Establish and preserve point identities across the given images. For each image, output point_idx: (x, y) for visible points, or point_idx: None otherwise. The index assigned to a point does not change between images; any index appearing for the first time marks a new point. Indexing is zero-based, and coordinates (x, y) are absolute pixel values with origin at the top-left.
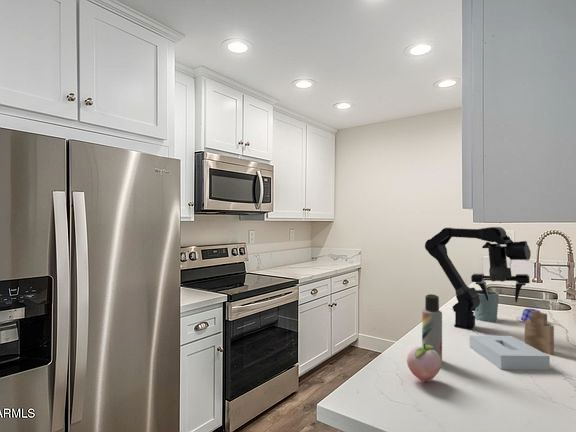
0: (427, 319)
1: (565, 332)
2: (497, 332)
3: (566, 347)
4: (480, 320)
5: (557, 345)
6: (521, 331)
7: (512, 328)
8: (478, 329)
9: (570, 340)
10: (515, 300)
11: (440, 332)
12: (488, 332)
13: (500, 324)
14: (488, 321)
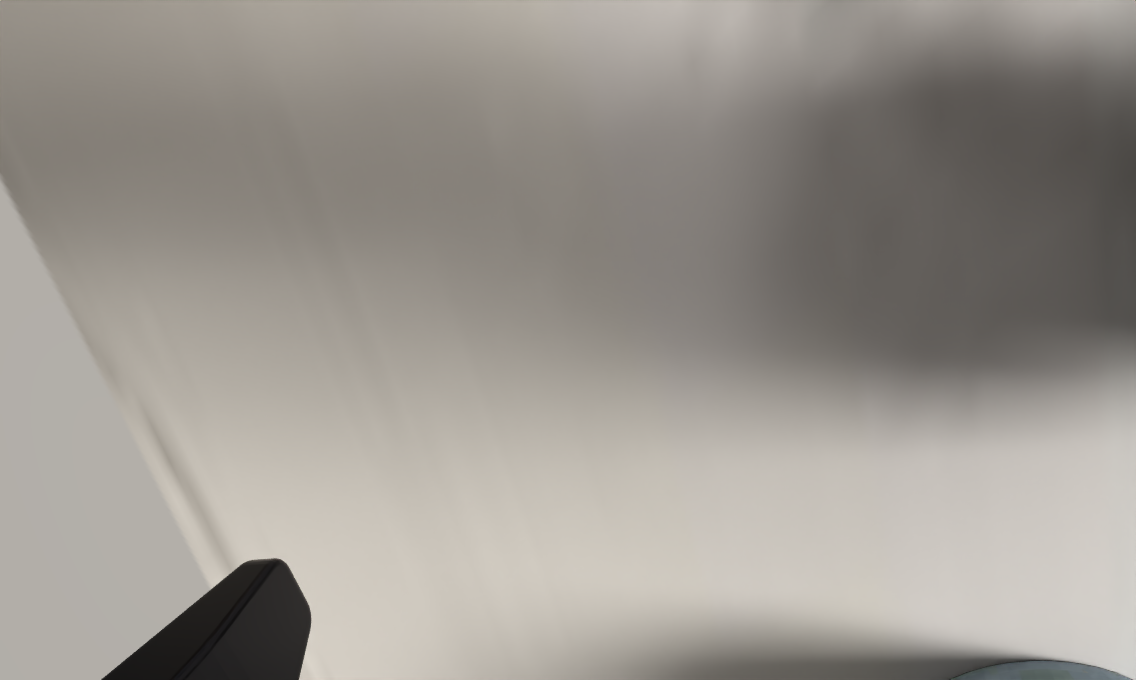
0: None
1: None
2: (813, 264)
3: (44, 187)
4: (1105, 670)
5: (123, 197)
6: (576, 495)
7: (687, 553)
8: (1117, 229)
9: (154, 464)
10: (248, 588)
11: None
12: (939, 167)
13: (840, 633)
14: (995, 668)
